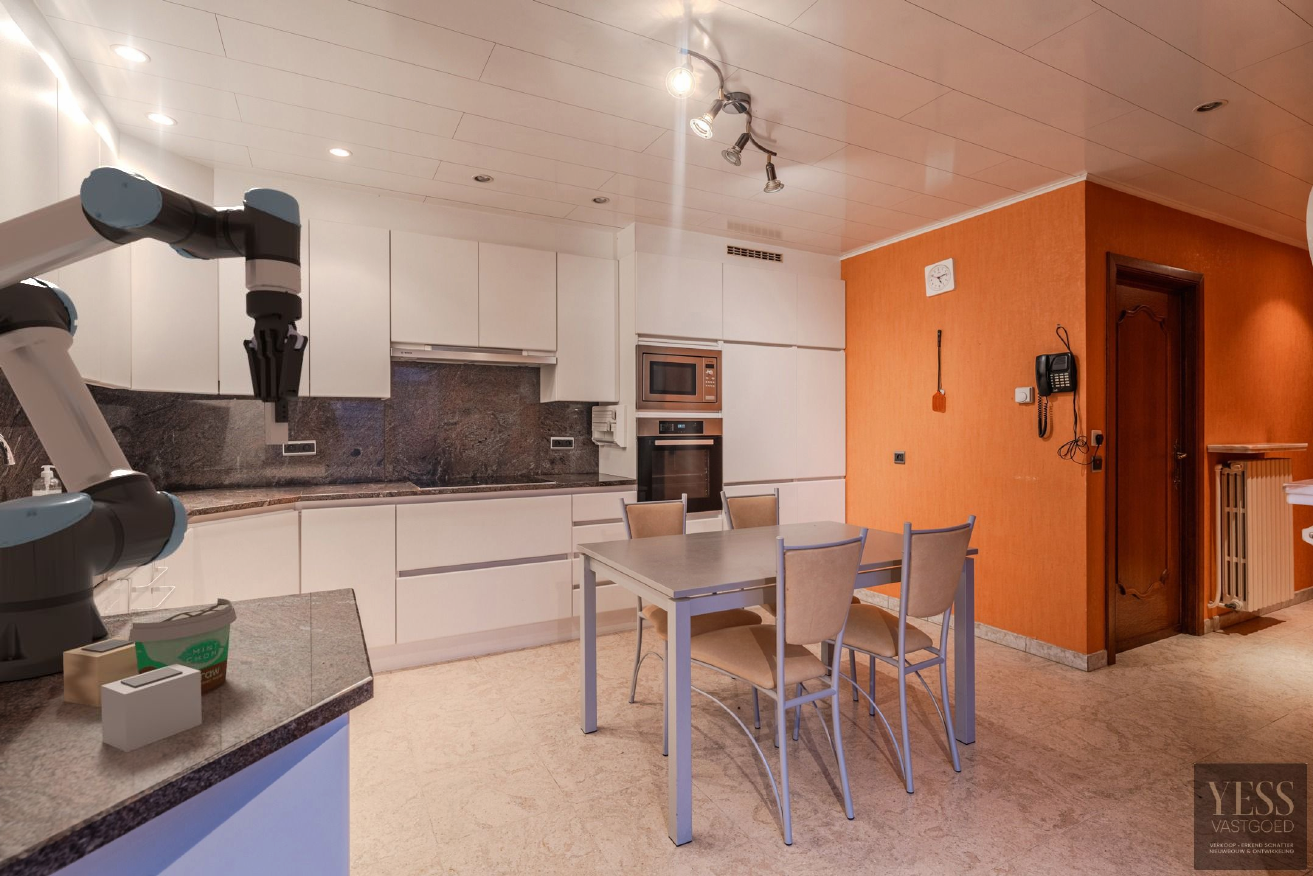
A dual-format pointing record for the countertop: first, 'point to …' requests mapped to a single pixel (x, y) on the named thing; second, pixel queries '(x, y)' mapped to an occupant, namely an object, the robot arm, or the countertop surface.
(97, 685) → the oak block
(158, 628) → the food container
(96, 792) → the countertop surface
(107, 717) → the grey painted block
